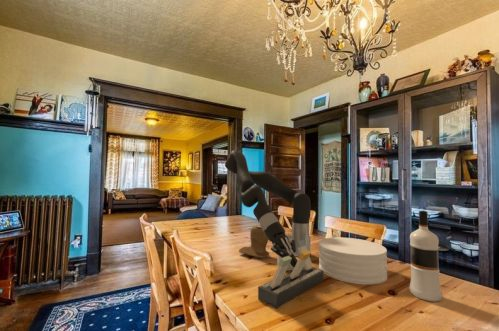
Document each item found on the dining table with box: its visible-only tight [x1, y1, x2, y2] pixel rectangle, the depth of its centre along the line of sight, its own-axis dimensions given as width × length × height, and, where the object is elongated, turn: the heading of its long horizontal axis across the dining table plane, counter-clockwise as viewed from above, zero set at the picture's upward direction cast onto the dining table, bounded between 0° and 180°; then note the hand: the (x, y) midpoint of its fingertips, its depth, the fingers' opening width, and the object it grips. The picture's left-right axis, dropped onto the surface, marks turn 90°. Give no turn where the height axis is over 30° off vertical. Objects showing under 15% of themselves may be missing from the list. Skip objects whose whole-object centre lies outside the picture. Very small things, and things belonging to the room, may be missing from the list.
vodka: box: [408, 210, 443, 303], centre depth 84 cm, size 9×9×30 cm
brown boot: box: [238, 225, 270, 259], centre depth 126 cm, size 15×12×15 cm
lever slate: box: [296, 240, 314, 271], centre depth 97 cm, size 1×4×12 cm, turn 135°
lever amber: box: [289, 250, 312, 280], centre depth 86 cm, size 1×4×12 cm, turn 134°
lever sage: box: [270, 256, 292, 289], centre depth 79 cm, size 1×4×12 cm, turn 134°
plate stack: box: [318, 236, 388, 285], centre depth 106 cm, size 28×28×12 cm
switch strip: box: [257, 266, 325, 309], centre depth 87 cm, size 8×30×4 cm, turn 134°
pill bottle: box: [276, 233, 296, 272], centre depth 109 cm, size 8×8×15 cm
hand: (296, 265), depth 86 cm, fingers closed
